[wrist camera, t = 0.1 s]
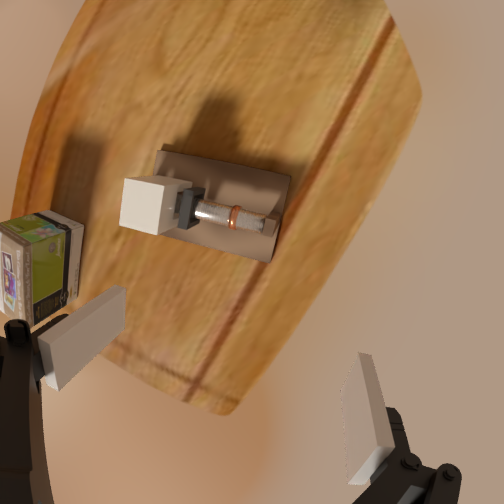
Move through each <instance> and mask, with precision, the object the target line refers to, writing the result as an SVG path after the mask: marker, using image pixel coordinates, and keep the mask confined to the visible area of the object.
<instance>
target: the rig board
mask: <svg viewBox="0 0 504 504" xmlns="http://www.w3.org/2000/svg"><path fill="white" fill-rule="evenodd" d="M156 175H160V176H165V177H170V178H175V179H180V180H185V181H190V182H192V187H201V188H206V190H205V196H204V200H207V201H212V202H216V203H220V204H225V205H229V206H234V205H238V206H242V209H246V210H250V211H254V212H258V213H262V214H266V215H267V217H266V219H265V224H264V228H263V232H262V235H261V234H257V233H253V232H249V231H245V230H241V229H237V230H232V229H229V228H228V226H225V225H221V224H217V223H213V222H209V221H205V220H201V219H200V223H199V224H197V225H195V226H193V227H192V228H190V229H188V230H184V229H180V228H177V226H176V227H174V228H171V229H169V230H167V231H165V232H163V233H161V234H159V235H163V236H167V237H171V238H175V239H178V240H182V241H186V242H190V243H194V244H197V245H201V246H205V247H209V248H213V249H216V250H220V251H224V252H228V253H232V254H235V255H239V256H243V257H247V258H251V259H255V260H259V261H262V262H266V263H270V262H271V258H272V254H273V250H274V246H275V242H276V237H277V233H278V229H279V225H280V221H281V217H282V213H283V208H284V204H285V200H286V196H287V192H288V187H289V183H290V179H291V176H287V175H283V174H279V173H275V172H270V171H266V170H262V169H257V168H252V167H248V166H243V165H238V164H234V163H229V162H224V161H219V160H213V159H208V158H203V157H197V156H192V155H186V154H180V153H174V152H168V151H162V150H157V155H156V160H155V166H154V171H153V176H156ZM177 194H180V195H183V191H181V192H177Z"/></svg>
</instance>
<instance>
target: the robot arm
mask: <svg viewBox="0 0 504 504" xmlns="http://www.w3.org/2000/svg"><path fill="white" fill-rule="evenodd" d="M125 301H126V288H123V287H121V286H118V285H114V286H112V287H111V288H109V289H108V290H106V291H105V292H103V293H101V294H100V295H98V296H97V297H95V298H94V299H92V300H91V301H89V302H88V303H86V304H85V305H83V306H82V307H80V308H79V309H78V310H76V311H75V312H73V313H72V314H70V315H68V314H63V315H59V316H57V317H55V318H54V319H52V320H51V321H49V322H48V323H46V324H45V325H43V326H42V327H41V328H39V329H37V330H36V331H34V332H33V333H30V326H29V323H28V322H27V321H25V320H23V319H13V320H10V321H8V322H7V323H6V324H5V325H4V330H5V334H6V338H4V337H1V336H0V504H54V501H53V496H52V491H51V486H50V480H49V474H48V467H47V461H46V452H45V444H44V433H43V419H42V397H41V382H40V379H41V378H42V377H43V376H44V375H45V378H46V383H47V385H49V386H50V387H52V388H54V389H55V390H57V391H60V390H61V389H62V388H63V387H64V386H65V385H66V384H67V383H68V382H69V381H70V380H71V379H72V378H73V377H74V376H75V375H76V374H77V373H78V372H79V371H81V369H83V368H84V367H85V366H86V365H87V364H88V363H89V362H90V361H91V360H92V359H93V358H94V357H95V356H96V355H97V354H98V353H100V352H101V351H102V350H103V349H104V348H105V347H106V346H107V345H108V344H109V343H110V342H111V341H112V340H113V339H114V338H116V337H117V336H118V335H119V334H120V333H121V332H122V331H123V330H124V329H125ZM341 401H342V412H343V423H344V435H345V450H346V466H347V484H356V485H364V484H365V483H366V482H367V481H368V480H369V478H370V480H371V481H370V482H371V485H370V486H369V487H368V488H367V489H366V490H365V491H364V492H363V493H362V494H361V495H360V497H358V498H357V499H356V500H355V502H353V503H352V504H457V502H458V497H459V491H460V485H461V480H462V476H461V472H460V470H459V469H458V468H457V467H456V466H454V465H452V464H448V463H446V464H442V465H441V466H440V467H439V468H438V469H437V470H436V469H432V468H429V467H426V466H423V465H422V462H421V461H420V459H419V457H417V456H416V455H415V454H413V453H411V452H410V449H409V444H408V440H407V437H406V433H405V431H404V430H405V429H404V426H403V422H402V419H401V416H400V414H399V413H398V412H397V410H396V409H395V408H390V407H385V403H384V399H383V395H382V392H381V388H380V384H379V381H378V377H377V374H376V370H375V366H374V363H373V360H372V356H371V355H368V354H363V353H358V354H357V357H356V359H355V361H354V363H353V365H352V368H351V370H350V372H349V374H348V376H347V378H346V380H345V382H344V384H343V387H342V389H341Z"/></svg>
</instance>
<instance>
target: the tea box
mask: <svg viewBox="0 0 504 504" xmlns="http://www.w3.org/2000/svg"><path fill="white" fill-rule="evenodd" d="M83 231H84V225H82V224H80V223H78V222H75V221H73V220H71V219H69V218H66V217H64V216H62V215H60V214H57V213H55V212H53V211H51V210H47V211H42V212H38V213H34V214H30V215H26V216H22V217H19V218H15V219H12V220H8V221H4V222H1V223H0V310H1V311H2V312H3V313H4V314H5V315H7V316H8V317H9V318H10V319H12V320H13V319H23V320H25V321H27V322H28V323H29V326H30V328H32V327H33V326H35V325H36V324H38V323H40V322H41V321H43V320H44V319H46V318H47V317H49V316H50V315H52V314H53V313H55V312H56V311H58V310H60V309H61V308H63V307H64V306H66V305H67V304H69V303H70V302H72V301H74V300H75V299H77V288H78V275H79V265H80V255H81V246H82V238H83Z"/></svg>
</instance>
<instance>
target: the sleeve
mask: <svg viewBox="0 0 504 504" xmlns="http://www.w3.org/2000/svg"><path fill="white" fill-rule="evenodd" d="M187 188H192V182H190V181H185V180H180V179H175V178H170V177H165V176H160V175H156V176H144V177H132V178H125V182H124V189H123V197H122V205H121V213H120V222H119V225H120V226H124V227H128V228H131V229H135V230H139V231H143V232H146V233H150V234H154V235H159V234H161V233H163V232H165V231H167V230H169V229H171V228H174V227H176V226H178V220H179V214H176V213H174V210H175V204H176V198H177V192H181V191H184V189H187Z"/></svg>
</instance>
